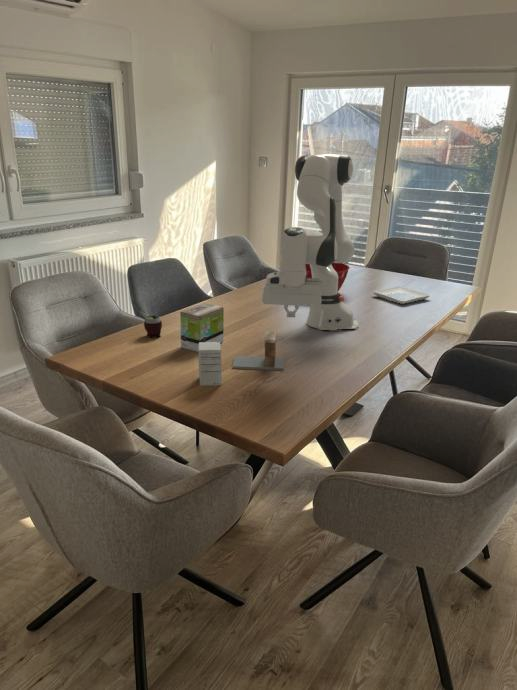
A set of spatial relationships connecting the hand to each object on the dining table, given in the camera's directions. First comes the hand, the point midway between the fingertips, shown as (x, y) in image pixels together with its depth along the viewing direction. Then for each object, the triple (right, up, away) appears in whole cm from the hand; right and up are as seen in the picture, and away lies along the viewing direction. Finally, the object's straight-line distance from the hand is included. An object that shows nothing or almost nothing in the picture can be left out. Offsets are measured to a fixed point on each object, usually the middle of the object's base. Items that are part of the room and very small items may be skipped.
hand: (290, 316), depth 183 cm
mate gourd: (-53, -6, +33) cm, 63 cm away
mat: (-11, -16, +7) cm, 21 cm away
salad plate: (+62, +14, +89) cm, 109 cm away
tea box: (-33, -10, +24) cm, 42 cm away
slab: (-7, -16, +7) cm, 19 cm away
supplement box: (-27, -22, -7) cm, 35 cm away
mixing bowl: (+21, +16, +94) cm, 98 cm away
